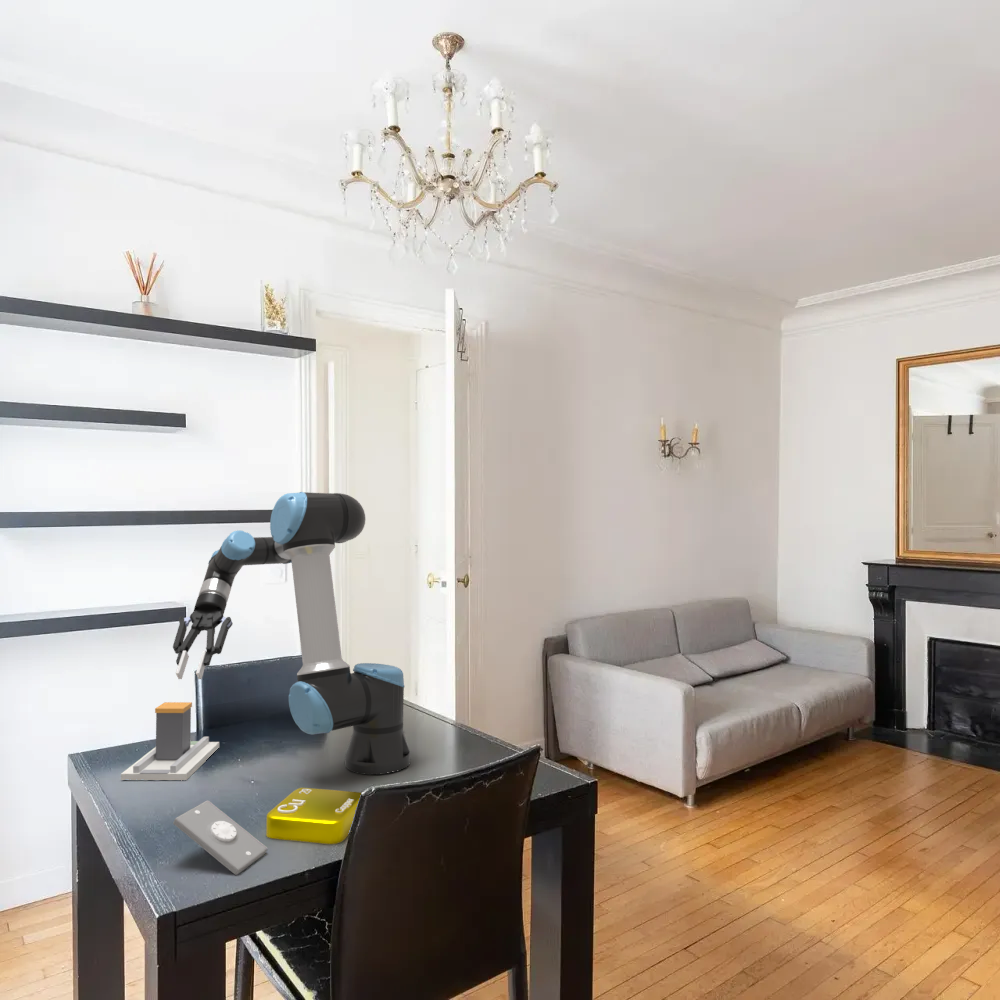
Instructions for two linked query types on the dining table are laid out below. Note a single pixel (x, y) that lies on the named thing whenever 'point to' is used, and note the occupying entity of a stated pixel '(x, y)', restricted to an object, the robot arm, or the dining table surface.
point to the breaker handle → (173, 730)
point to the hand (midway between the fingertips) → (188, 676)
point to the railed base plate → (171, 763)
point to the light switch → (221, 836)
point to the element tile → (313, 816)
